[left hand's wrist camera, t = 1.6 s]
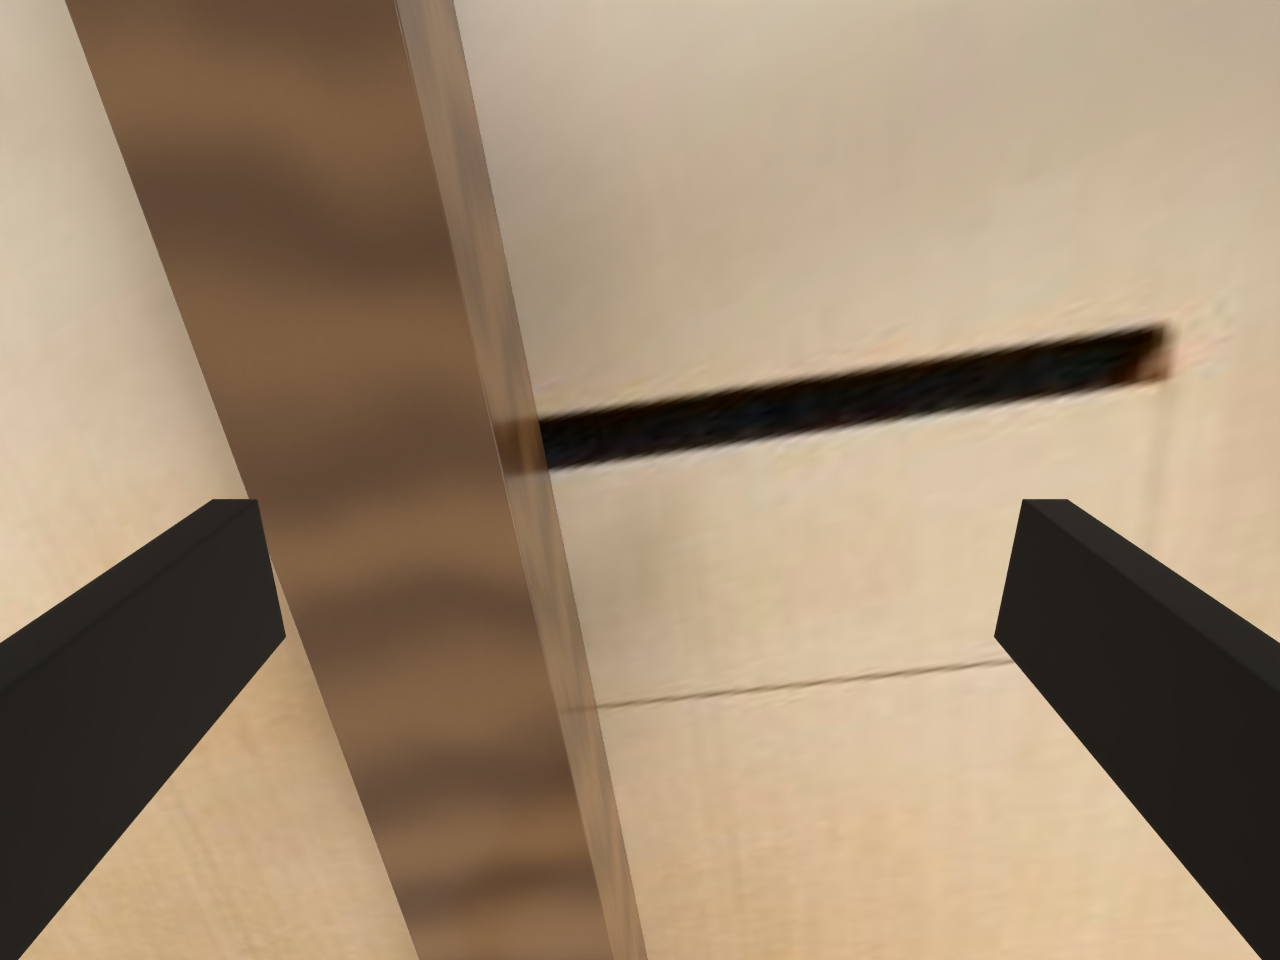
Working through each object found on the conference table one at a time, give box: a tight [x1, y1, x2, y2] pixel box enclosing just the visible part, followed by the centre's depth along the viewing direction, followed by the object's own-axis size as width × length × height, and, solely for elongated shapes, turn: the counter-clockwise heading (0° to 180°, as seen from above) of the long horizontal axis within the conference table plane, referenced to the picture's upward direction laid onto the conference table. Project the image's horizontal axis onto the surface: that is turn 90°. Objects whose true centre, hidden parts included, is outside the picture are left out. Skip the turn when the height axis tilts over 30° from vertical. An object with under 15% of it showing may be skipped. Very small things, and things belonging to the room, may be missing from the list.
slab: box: [65, 0, 648, 960], centre depth 32 cm, size 65×9×8 cm, turn 8°
